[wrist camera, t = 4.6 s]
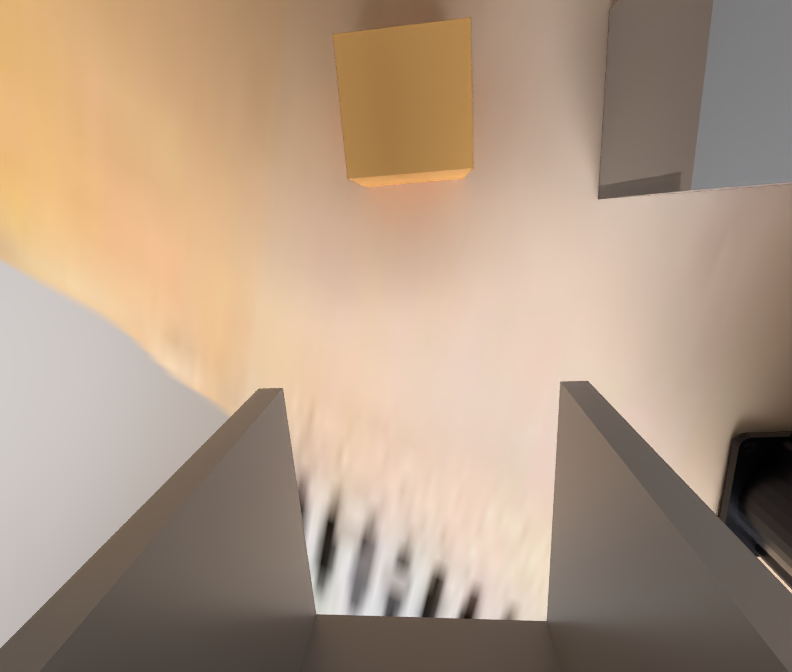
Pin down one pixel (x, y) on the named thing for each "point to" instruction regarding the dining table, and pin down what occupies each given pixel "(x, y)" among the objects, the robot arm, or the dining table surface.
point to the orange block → (406, 102)
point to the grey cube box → (696, 96)
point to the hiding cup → (413, 636)
